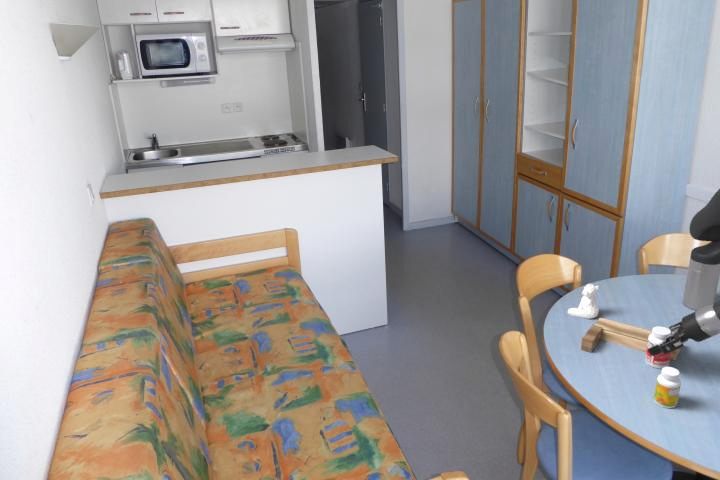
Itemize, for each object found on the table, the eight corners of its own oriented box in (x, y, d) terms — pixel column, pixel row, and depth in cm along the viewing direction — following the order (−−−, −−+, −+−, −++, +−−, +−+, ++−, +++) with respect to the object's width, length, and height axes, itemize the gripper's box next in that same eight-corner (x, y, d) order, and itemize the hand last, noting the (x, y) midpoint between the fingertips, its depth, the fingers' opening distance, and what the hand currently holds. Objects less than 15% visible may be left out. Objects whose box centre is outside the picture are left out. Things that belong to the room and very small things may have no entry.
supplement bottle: (649, 396, 147) (654, 366, 143) (668, 394, 147) (674, 364, 144) (661, 409, 142) (666, 378, 138) (681, 407, 142) (687, 376, 138)
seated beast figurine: (583, 305, 194) (586, 275, 190) (605, 315, 188) (609, 283, 183) (566, 314, 190) (568, 282, 185) (588, 324, 183) (591, 291, 178)
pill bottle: (672, 364, 160) (678, 331, 156) (661, 371, 156) (666, 338, 152) (652, 354, 164) (657, 322, 160) (640, 362, 161) (645, 329, 157)
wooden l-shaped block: (599, 325, 181) (600, 314, 180) (681, 347, 167) (683, 336, 165) (580, 349, 169) (582, 338, 167) (667, 376, 154) (669, 364, 153)
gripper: (701, 300, 154) (650, 325, 165) (691, 322, 144) (637, 347, 155) (720, 322, 153) (667, 346, 164) (711, 346, 142) (655, 369, 154)
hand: (653, 346), depth 159 cm, fingers open, 7 cm apart
